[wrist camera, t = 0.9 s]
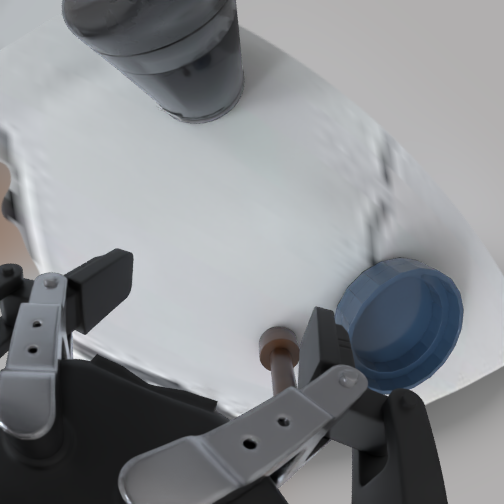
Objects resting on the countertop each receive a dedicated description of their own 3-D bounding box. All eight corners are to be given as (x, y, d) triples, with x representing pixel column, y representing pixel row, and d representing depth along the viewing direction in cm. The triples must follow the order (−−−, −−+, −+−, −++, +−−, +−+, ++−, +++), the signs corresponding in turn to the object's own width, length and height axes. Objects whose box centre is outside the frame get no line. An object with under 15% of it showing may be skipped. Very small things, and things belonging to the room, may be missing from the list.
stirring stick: (256, 329, 33) (257, 412, 19) (294, 323, 33) (317, 402, 19) (262, 361, 34) (266, 448, 20) (299, 355, 34) (320, 439, 20)
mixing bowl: (325, 271, 32) (338, 286, 26) (440, 246, 31) (466, 255, 26) (335, 382, 35) (346, 408, 29) (435, 351, 34) (455, 371, 29)
